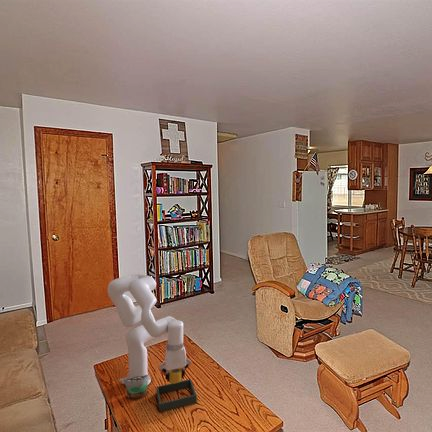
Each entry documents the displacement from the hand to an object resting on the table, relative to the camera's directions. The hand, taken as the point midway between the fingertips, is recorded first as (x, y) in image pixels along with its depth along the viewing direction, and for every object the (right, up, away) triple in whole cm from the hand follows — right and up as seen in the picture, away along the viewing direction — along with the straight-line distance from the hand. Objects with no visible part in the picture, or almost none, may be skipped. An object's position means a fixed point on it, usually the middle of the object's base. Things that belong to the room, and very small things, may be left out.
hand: (175, 378), depth 175 cm
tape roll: (0, -1, 0) cm, 1 cm away
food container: (-20, -10, +1) cm, 22 cm away
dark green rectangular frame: (0, -11, +1) cm, 11 cm away
